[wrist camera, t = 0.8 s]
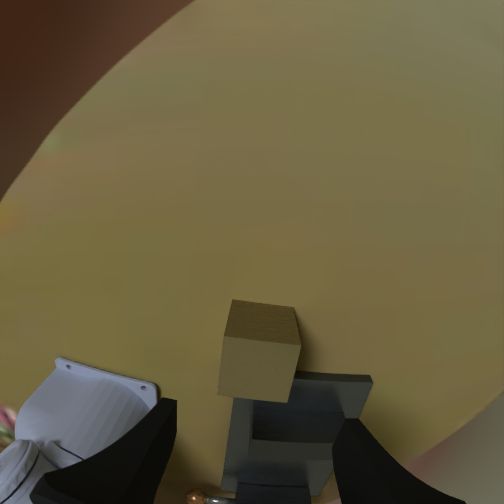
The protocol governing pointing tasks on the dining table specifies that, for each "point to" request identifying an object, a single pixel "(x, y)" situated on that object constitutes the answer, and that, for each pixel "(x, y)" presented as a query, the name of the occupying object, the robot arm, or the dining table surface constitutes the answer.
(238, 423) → the vise
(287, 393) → the brass block
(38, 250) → the dining table surface
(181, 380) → the dining table surface
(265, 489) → the sliding jaw
